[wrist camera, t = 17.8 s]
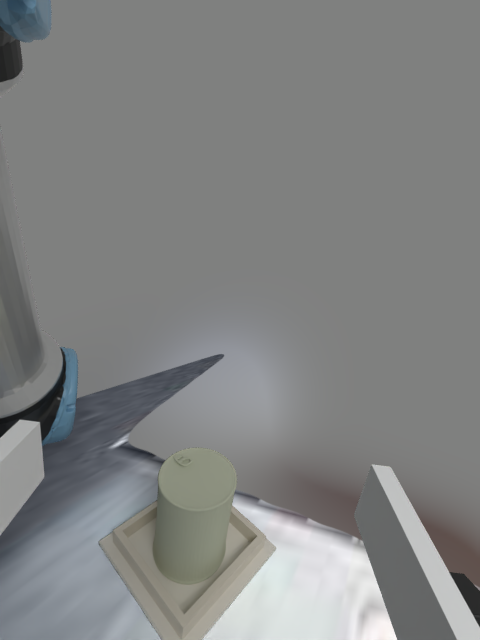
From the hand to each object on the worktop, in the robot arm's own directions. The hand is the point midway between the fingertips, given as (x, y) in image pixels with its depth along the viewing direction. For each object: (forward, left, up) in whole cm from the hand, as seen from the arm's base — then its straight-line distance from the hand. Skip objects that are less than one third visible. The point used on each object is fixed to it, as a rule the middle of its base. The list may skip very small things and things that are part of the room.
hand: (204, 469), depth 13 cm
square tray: (+14, +13, -32) cm, 37 cm away
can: (+14, +13, -31) cm, 37 cm away
